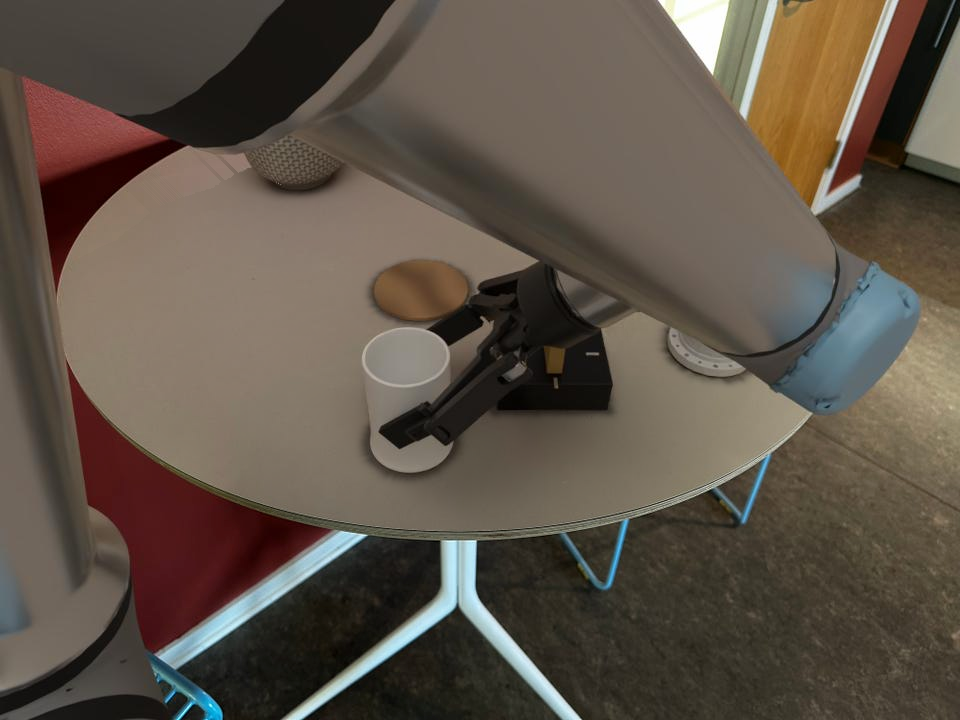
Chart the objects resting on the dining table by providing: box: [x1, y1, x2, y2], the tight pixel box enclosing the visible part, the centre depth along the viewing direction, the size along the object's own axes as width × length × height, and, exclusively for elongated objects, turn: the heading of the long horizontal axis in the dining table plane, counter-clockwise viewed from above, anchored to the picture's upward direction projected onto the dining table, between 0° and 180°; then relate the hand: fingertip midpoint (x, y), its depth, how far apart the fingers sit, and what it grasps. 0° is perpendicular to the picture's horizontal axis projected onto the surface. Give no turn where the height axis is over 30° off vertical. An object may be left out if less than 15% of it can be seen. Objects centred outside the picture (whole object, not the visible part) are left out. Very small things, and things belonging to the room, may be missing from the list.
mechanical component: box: [666, 327, 747, 378], centre depth 83 cm, size 10×4×10 cm
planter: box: [243, 135, 344, 192], centre depth 106 cm, size 17×17×16 cm
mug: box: [361, 326, 454, 474], centre depth 70 cm, size 12×8×12 cm
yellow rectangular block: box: [544, 346, 565, 373], centre depth 74 cm, size 6×2×8 cm, turn 1°
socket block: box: [493, 329, 614, 411], centre depth 78 cm, size 12×10×4 cm
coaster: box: [373, 259, 469, 322], centre depth 91 cm, size 12×12×1 cm
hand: (411, 386), depth 70 cm, fingers open, 13 cm apart
